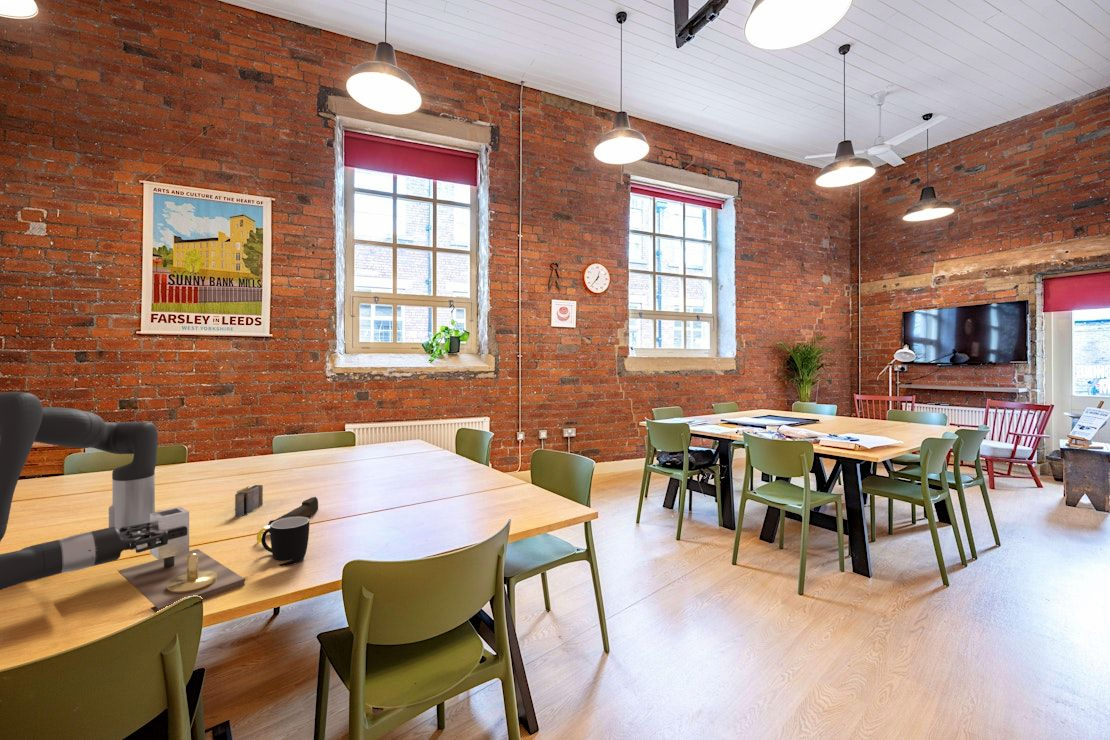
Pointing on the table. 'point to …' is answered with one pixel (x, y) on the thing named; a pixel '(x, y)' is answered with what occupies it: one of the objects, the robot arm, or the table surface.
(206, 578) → the disc
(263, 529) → the watch
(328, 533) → the table surface
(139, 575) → the walnut stand board
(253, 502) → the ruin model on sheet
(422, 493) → the table surface
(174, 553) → the open-top grey box
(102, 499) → the table surface
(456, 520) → the table surface
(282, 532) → the mug
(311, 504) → the hand tool
